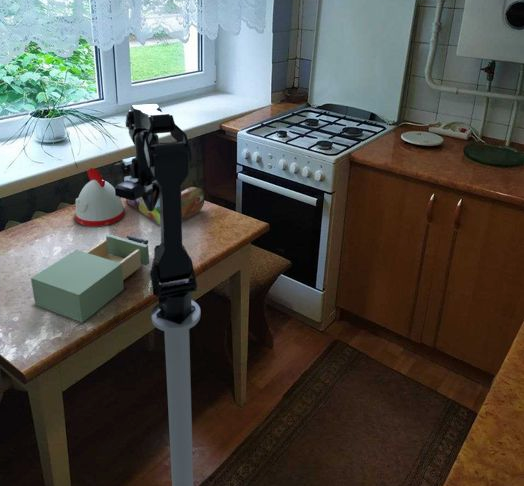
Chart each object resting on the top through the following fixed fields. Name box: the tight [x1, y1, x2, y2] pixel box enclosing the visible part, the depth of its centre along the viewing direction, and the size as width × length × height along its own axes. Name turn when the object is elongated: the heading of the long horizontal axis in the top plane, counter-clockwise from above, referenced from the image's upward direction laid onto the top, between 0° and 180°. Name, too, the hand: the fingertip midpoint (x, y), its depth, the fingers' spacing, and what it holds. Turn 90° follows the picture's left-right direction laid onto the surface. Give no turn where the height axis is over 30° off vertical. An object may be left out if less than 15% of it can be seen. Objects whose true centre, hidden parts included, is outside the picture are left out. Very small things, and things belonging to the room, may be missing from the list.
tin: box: [181, 186, 206, 222], centre depth 151 cm, size 15×3×8 cm, turn 146°
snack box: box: [121, 155, 161, 226], centre depth 152 cm, size 21×6×15 cm, turn 43°
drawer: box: [85, 233, 150, 281], centre depth 124 cm, size 17×12×5 cm
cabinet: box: [30, 249, 125, 323], centre depth 112 cm, size 14×14×7 cm
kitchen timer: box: [75, 167, 125, 227], centre depth 149 cm, size 14×14×15 cm
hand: (150, 210), depth 129 cm, fingers closed
